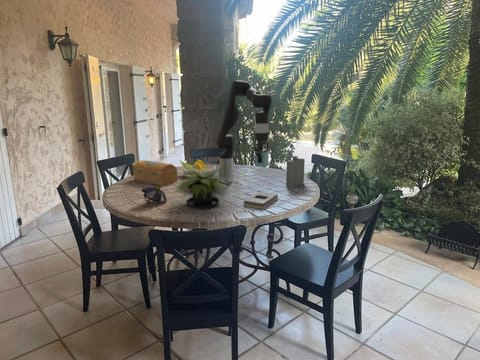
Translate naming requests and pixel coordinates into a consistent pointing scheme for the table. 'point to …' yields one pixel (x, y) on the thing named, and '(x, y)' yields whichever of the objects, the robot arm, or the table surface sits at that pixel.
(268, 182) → the table surface
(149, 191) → the dark grey rounded piece
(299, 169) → the hip flask
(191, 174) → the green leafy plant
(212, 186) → the fern plant
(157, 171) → the wooden box
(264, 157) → the plug
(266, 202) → the block
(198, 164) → the fruit bowl
